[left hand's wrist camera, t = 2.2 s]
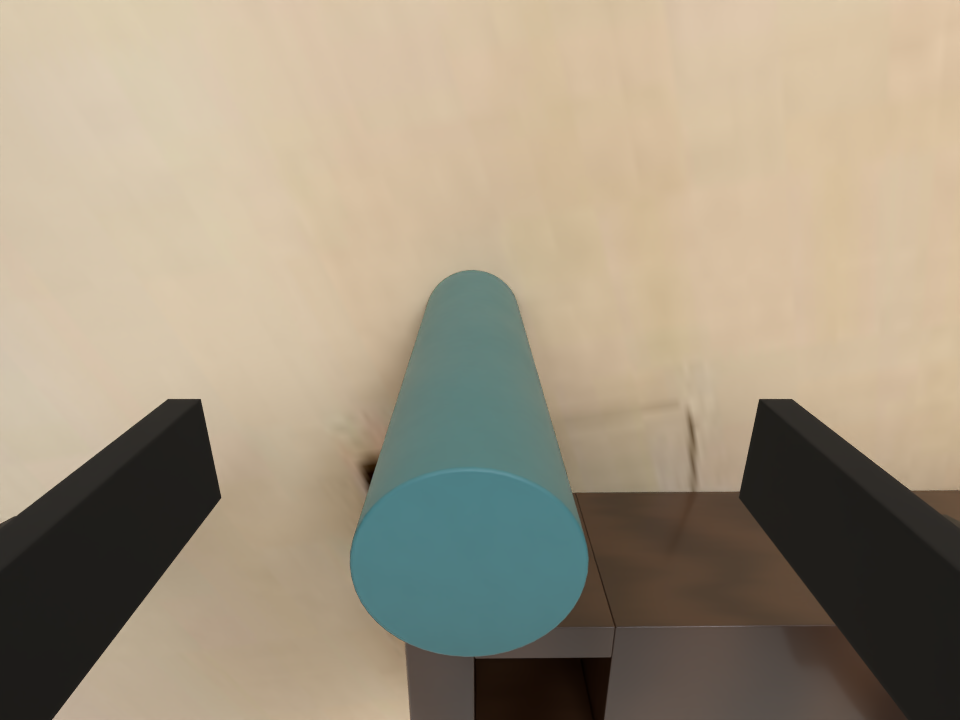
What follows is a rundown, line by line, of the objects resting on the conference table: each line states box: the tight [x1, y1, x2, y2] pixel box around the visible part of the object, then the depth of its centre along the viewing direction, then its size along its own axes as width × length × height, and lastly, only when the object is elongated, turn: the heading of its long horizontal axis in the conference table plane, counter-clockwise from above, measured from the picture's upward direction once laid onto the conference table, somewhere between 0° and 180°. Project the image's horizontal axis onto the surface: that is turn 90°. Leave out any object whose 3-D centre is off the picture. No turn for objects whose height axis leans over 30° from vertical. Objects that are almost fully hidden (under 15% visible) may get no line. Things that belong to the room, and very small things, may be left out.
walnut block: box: [405, 491, 960, 720], centre depth 24 cm, size 28×8×8 cm, turn 90°
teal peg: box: [350, 270, 589, 657], centre depth 16 cm, size 4×4×15 cm
